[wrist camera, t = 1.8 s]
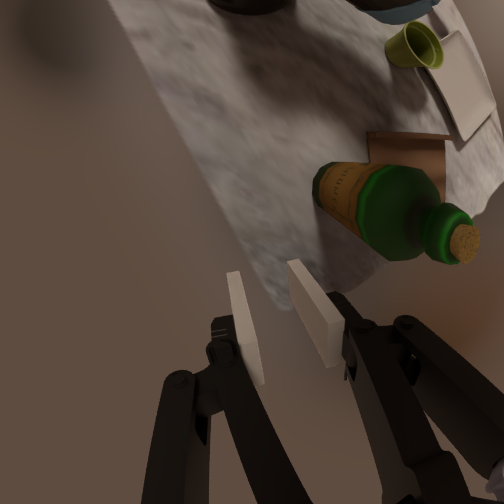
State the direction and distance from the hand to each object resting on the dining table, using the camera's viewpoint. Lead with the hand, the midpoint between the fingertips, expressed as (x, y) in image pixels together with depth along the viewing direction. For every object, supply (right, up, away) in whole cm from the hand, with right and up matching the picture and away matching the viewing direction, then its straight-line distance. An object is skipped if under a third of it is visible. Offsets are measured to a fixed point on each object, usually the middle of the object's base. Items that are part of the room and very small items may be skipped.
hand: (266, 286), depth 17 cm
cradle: (+29, +16, +27) cm, 43 cm away
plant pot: (+26, +39, +18) cm, 50 cm away
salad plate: (+44, +39, +21) cm, 63 cm away
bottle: (+13, +13, +26) cm, 32 cm away
